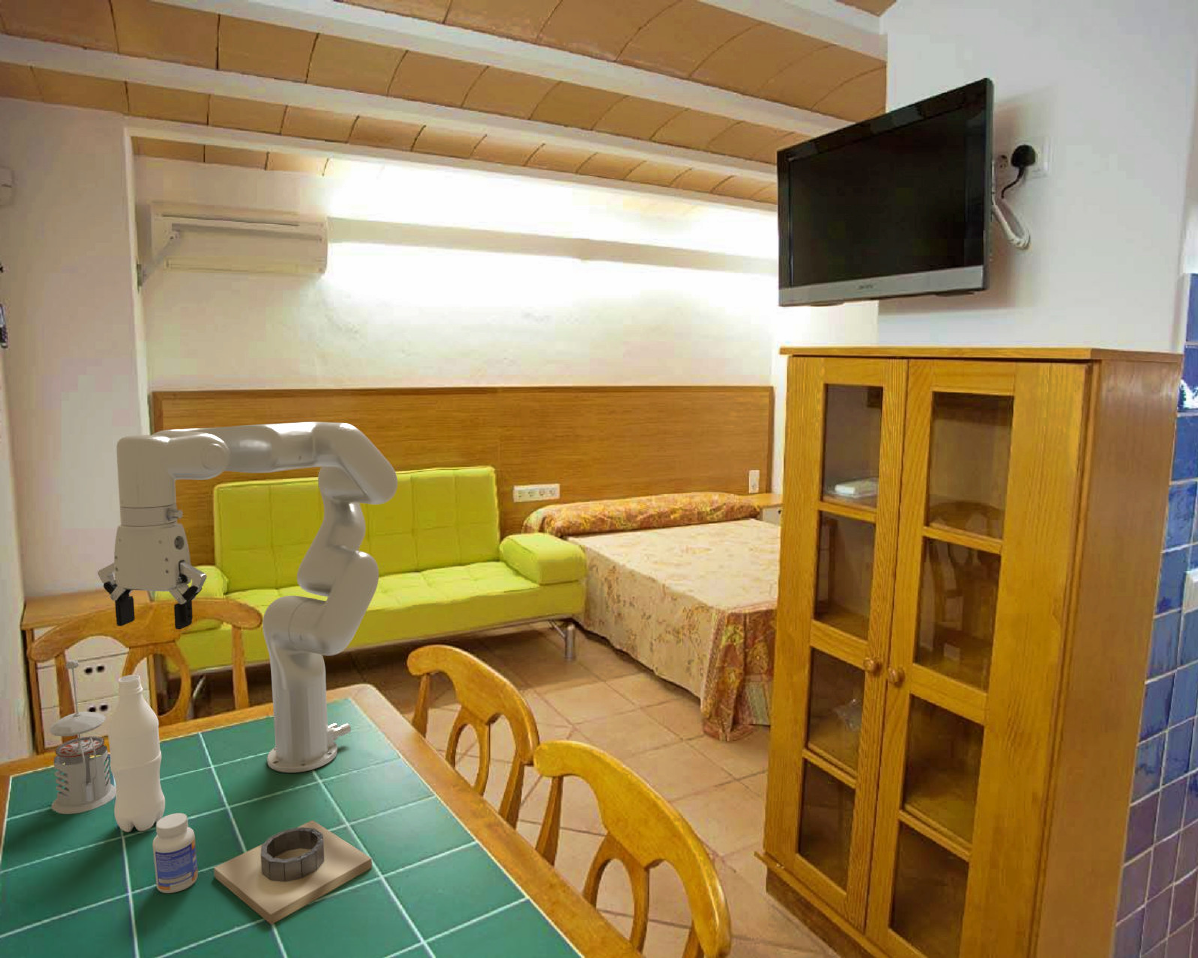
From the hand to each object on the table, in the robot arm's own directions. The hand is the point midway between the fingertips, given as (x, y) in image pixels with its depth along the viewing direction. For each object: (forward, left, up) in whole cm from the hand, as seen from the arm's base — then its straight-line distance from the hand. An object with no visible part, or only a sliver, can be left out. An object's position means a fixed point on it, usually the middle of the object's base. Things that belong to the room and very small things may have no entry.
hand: (154, 625), depth 125 cm
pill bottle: (+5, +14, -35) cm, 38 cm away
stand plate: (-7, +25, -35) cm, 43 cm away
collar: (-7, +25, -33) cm, 42 cm away
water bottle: (+2, -6, -35) cm, 35 cm away
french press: (+5, -21, -35) cm, 41 cm away
